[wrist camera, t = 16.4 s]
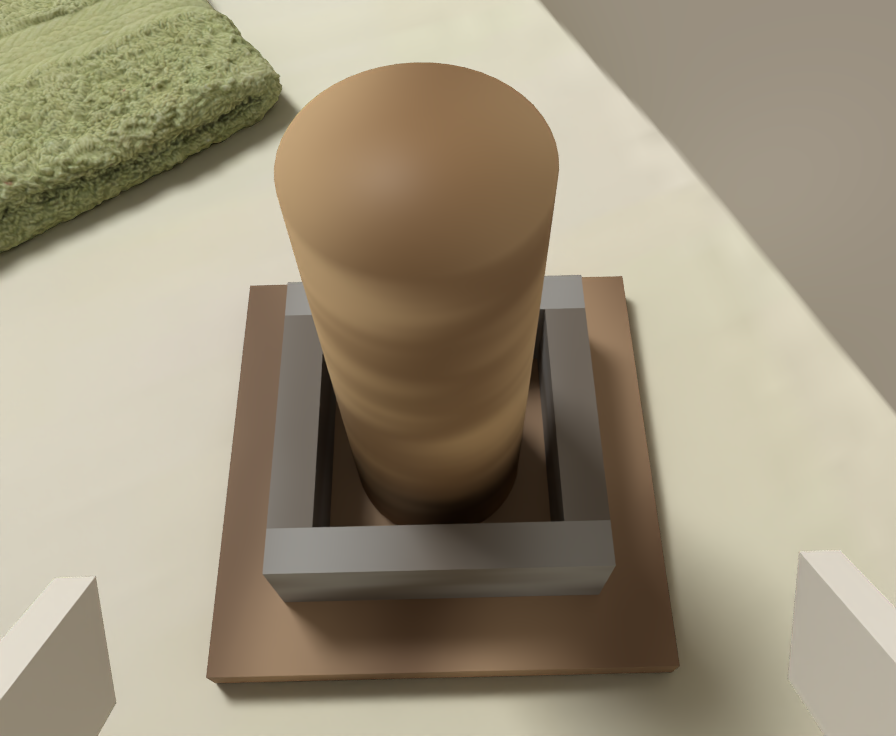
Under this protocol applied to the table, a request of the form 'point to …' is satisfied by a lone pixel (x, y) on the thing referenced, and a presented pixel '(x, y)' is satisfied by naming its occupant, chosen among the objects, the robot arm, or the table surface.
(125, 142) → the washcloth
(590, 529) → the socket board
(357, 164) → the oak pin
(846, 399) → the table surface
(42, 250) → the table surface
